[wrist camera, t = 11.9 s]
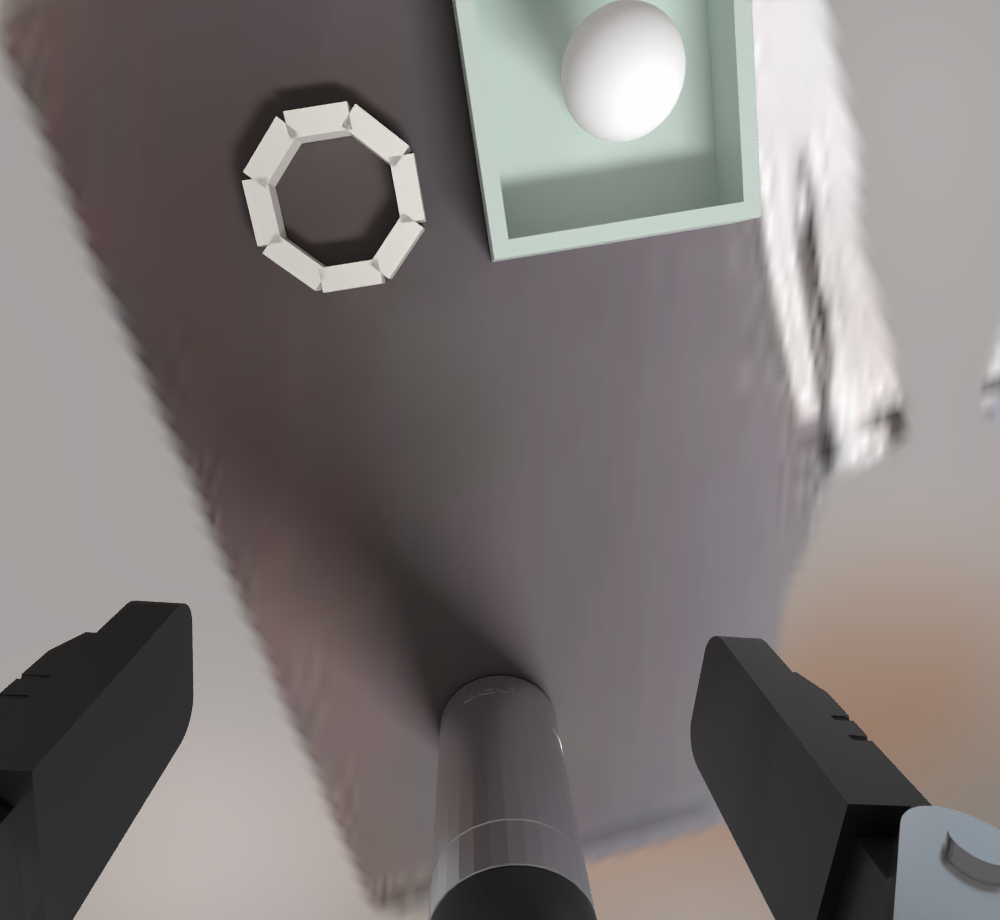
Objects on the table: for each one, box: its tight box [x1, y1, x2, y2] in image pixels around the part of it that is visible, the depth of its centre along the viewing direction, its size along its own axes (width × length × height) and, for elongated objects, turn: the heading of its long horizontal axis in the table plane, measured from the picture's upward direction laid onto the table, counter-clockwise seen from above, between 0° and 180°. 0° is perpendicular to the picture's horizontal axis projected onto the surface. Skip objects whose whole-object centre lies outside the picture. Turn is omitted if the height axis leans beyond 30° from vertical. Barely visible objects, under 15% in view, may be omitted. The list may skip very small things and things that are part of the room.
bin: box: [452, 0, 761, 262], centre depth 39 cm, size 16×16×4 cm
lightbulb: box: [561, 0, 686, 142], centre depth 35 cm, size 6×6×11 cm
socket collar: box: [242, 101, 427, 293], centre depth 41 cm, size 10×10×2 cm
